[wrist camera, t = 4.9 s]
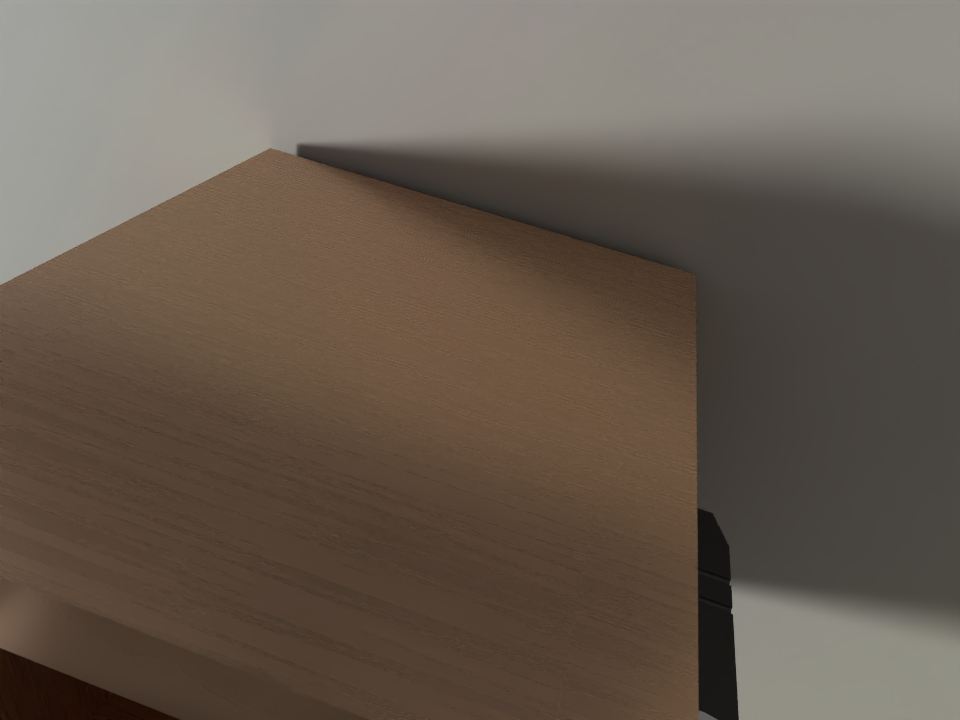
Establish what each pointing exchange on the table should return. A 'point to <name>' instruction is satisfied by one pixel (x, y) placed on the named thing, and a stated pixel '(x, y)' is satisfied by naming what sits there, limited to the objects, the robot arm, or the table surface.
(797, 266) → the table surface
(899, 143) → the table surface
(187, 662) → the wooden cubby box
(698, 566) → the robot arm
